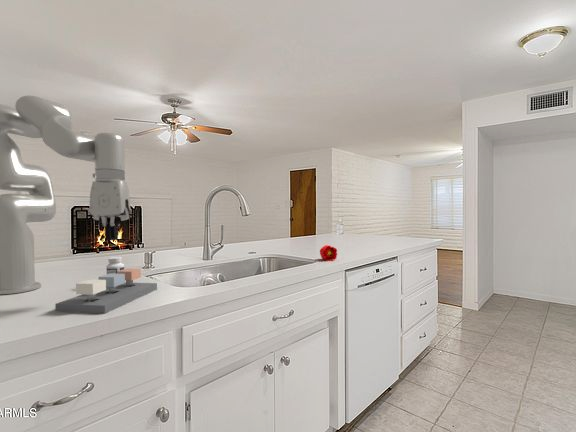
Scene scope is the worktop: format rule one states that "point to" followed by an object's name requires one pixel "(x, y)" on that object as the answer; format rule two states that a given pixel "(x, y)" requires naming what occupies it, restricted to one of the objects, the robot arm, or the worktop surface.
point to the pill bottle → (115, 265)
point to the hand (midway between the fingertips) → (111, 239)
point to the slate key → (113, 281)
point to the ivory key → (91, 288)
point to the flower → (328, 253)
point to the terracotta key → (130, 275)
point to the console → (106, 299)
